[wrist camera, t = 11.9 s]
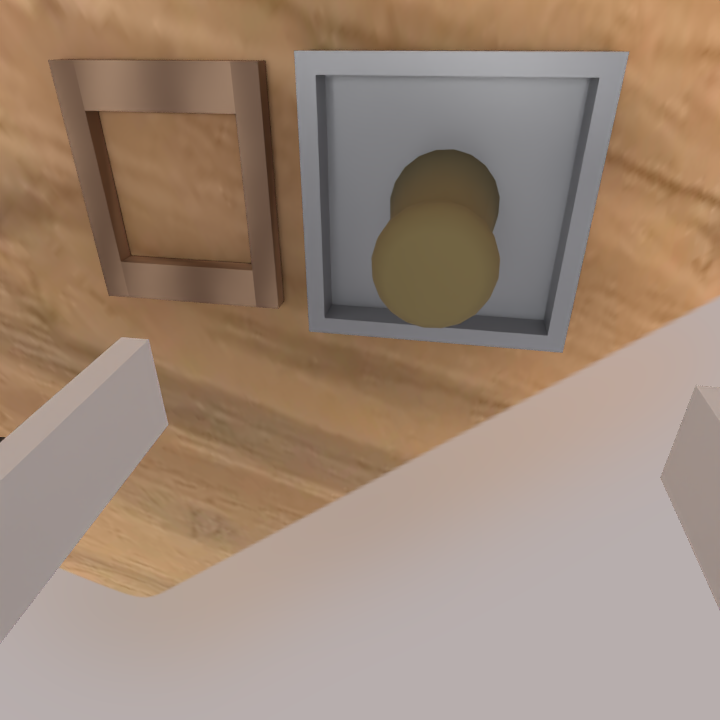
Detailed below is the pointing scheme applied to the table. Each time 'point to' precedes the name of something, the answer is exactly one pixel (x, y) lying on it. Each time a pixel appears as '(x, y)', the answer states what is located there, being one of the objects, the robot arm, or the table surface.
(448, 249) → the olive bulb peg
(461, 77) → the tray
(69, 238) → the table surface
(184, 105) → the socket block
